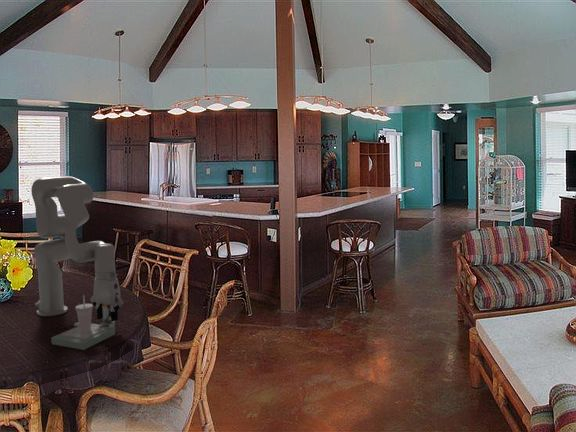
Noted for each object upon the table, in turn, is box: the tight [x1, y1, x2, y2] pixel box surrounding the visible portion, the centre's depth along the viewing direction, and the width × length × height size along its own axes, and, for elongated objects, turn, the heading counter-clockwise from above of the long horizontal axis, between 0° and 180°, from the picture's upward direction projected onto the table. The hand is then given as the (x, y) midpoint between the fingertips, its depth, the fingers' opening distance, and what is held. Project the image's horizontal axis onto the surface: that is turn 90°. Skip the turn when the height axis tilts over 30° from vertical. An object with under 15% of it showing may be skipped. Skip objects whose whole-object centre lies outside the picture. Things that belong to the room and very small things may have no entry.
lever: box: [100, 304, 116, 328], centre depth 211 cm, size 4×4×12 cm
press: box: [51, 321, 116, 351], centre depth 206 cm, size 22×21×3 cm
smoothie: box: [75, 294, 94, 332], centre depth 202 cm, size 6×6×14 cm
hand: (107, 319), depth 212 cm, fingers open, 6 cm apart
